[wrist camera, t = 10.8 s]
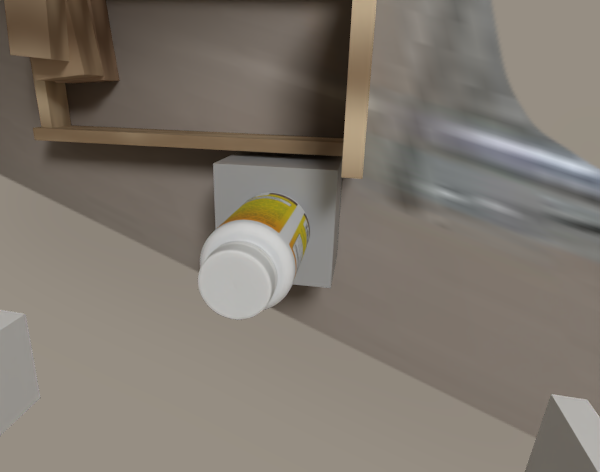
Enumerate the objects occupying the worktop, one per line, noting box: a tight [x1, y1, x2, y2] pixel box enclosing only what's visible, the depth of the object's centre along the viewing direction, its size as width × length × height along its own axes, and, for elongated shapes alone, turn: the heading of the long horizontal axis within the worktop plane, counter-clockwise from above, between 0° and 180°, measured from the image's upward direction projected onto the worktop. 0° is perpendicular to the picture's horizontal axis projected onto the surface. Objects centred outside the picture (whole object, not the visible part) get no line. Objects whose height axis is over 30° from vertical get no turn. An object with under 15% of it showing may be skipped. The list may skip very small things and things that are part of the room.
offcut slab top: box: [30, 0, 104, 81], centre depth 32 cm, size 8×4×2 cm, turn 6°
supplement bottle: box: [198, 192, 310, 320], centre depth 26 cm, size 6×6×10 cm
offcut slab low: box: [55, 0, 119, 83], centre depth 35 cm, size 8×4×2 cm, turn 3°
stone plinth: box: [213, 151, 343, 288], centre depth 34 cm, size 9×9×7 cm
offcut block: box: [4, 0, 70, 61], centre depth 30 cm, size 5×3×2 cm, turn 174°
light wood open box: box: [30, 0, 377, 179], centre depth 29 cm, size 14×28×12 cm, turn 88°
